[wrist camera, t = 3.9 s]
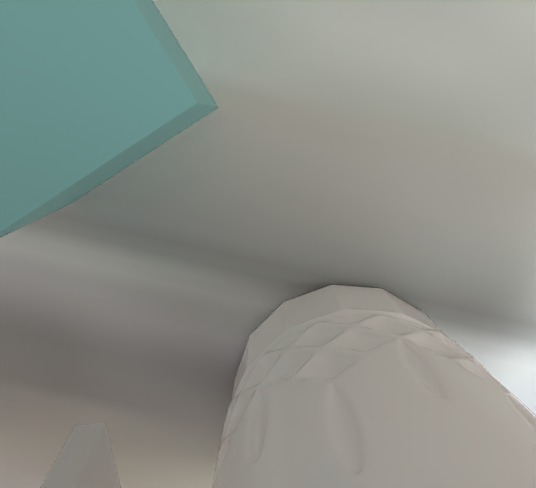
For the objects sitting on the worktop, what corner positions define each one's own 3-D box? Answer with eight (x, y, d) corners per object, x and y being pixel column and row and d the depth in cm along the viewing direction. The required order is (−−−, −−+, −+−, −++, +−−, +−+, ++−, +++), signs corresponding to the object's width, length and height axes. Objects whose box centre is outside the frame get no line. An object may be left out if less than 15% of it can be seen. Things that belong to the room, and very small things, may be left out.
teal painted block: (218, 107, 13) (197, 102, 8) (71, 202, 14) (-31, 252, 9) (107, -72, 12) (5, -202, 7) (-49, 42, 12) (-243, -5, 8)
